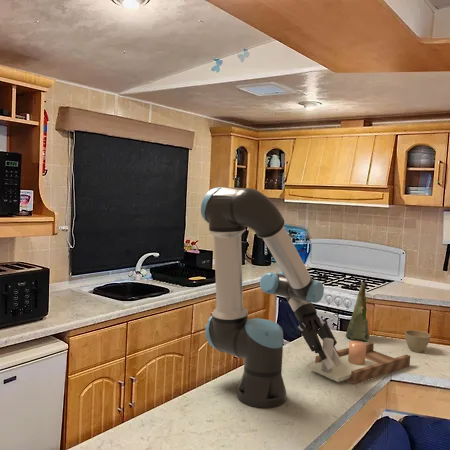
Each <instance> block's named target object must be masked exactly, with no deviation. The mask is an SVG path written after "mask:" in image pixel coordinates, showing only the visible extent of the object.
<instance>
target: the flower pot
mask: <svg viewBox="0 0 450 450" xmlns="http://www.w3.org/2000/svg"><path fill="white" fill-rule="evenodd" d="M404 337H405V342H406V344H407V346H408V349H409V350H410V351H412V352H415V353H422V352H424V351H425V350H426V348H427V347H428V345H429V343H430V342H431V341H430V340H431V334H430V333H428V332H426V331H422V330H414V329H413V330H412V329H409V330H405V331H404Z"/></svg>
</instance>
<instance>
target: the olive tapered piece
mask: <svg viewBox="0 0 450 450" xmlns="http://www.w3.org/2000/svg"><path fill="white" fill-rule="evenodd" d="M366 305H367V299H366V283H365V282H363V281H362V282H361V283H360V286H359V290H358V294H357V296H356V301H355V305H354V309H353V312H352V314H351V318H350V320H349V324H348V326H347V330H346V333H345V337H346V338H349V339H350V341H353V340H358V341H365V342H368V341H369V340H370V333H369V323H368V322H369V321H368V319H367V311H368V310H367V306H366Z"/></svg>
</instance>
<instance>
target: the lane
mask: <svg viewBox="0 0 450 450" xmlns="http://www.w3.org/2000/svg"><path fill="white" fill-rule="evenodd" d="M365 343H366V342H365ZM366 344H367V345H366V357H365V358H366V359H368V360H371V361H373V362H376V363H377V364H374V365H370V366H367V367H364V368H360V369H357V370H354V371H351V378H349V379H346V380H345V381H346V382H349V383H351V384H353V385H356V384H359V383H362V381H363V382H366V381H369V380H372V379H374V377H375V378H378V377H380V376H383V375H386V374H387V375H388V374H390V373H392V372H393V373H394V372H395V371H399V370H402V369H404V368H408V367H411V366H410V363H411V355H409V354H404V355H401V356H397V357H392V356H389V355H387V354H384V353H382V352H378V351H376V350H374V347H375V346H374V345H375V343H374V342H371V341H370V342H367V343H366ZM336 351H337V352H338V356H339V357H341V356H345V355H348V354H349V347H347V348H343V349H342V348H341V349H339V350H336ZM319 362H322V359H321V357H320V356H319V355H315V361H314V364H315V363H319ZM371 378H372V379H371ZM368 379H369V380H368ZM365 380H366V381H365Z"/></svg>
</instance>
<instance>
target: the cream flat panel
mask: <svg viewBox="0 0 450 450" xmlns="http://www.w3.org/2000/svg"><path fill="white" fill-rule="evenodd" d="M333 343H334V340H333V339H331V338H323V341H322V349H324V348H325V350H326V352H327V353H328V355H329V357H330V359H331V361H332V362H333ZM348 355H349V354H348ZM348 355H345V356H341V357H340V359H341V361H342V363H343V364H341V365H340V366H339V367H336V365H335V363H334V362H333V364H334V366H333V367H332V368H331V369H330V370H328V369H327V367H326V365H325V363H324V361H323V360H322V362H319V363H315V362H314V363H312V364H308V365H307V366H308V367H307V369H308V370H310V371H313V372H315V373H317V374H319V375H322V376H324V377H326V378H328V379H330V380H332V381H335V382H337V383H339V382H343V381H346V379H349V378H351V371H354V370H357V369H360V368H364V367H367V366H370V365H374V364H377V363H376V362H373V361H371V360H368V359H366V358H365V364H363V365H356V364H352V363H350V362H348Z"/></svg>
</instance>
